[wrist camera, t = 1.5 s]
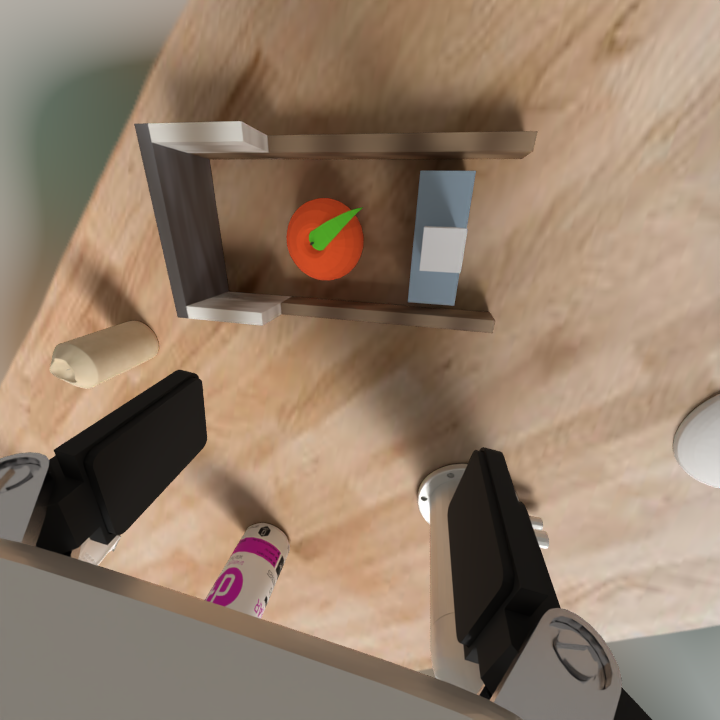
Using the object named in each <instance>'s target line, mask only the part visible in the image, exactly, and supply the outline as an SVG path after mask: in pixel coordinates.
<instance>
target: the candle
mask: <svg viewBox="0 0 720 720" xmlns="http://www.w3.org/2000/svg"><path fill="white" fill-rule="evenodd" d="M158 351H159V343H158V339H157V337H156V335H155V334H154V332H153V331H152V330H151V329H150V328H149V327H148V326H147V325H145V324H144V323H142V322H139V321H128V322H125V323H122V324H119V325H116V326H112V327H109V328H106V329H103V330H100V331H97V332H94V333H91V334H88V335H85V336H82V337H79V338H76V339H73V340H70V341H67V342H64V343H61V344H58V345H57V346H56V347H55V349H54V352H53V356H52V362H51V366H50V372H51V373H52V374H53V375H54V376H56V377H57V378H59V379H62V380H64V381H66V382H68V383H70V384H72V385H74V386H77V387H81V388H87V389H89V388H93V387H95V386H97V385H99V384H101V383H103V382H105V381H107V380H109V379H111V378H113V377H115V376H117V375H119V374H121V373H123V372H126V371H128V370H130V369H132V368H134V367H136V366H138V365H140V364H142V363H144V362H146V361H148V360H150V359H152V358H153V357H155V356H156V355H157V353H158Z"/></svg>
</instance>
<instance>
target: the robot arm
mask: <svg viewBox="0 0 720 720" xmlns="http://www.w3.org/2000/svg"><path fill="white" fill-rule="evenodd" d="M206 441H207V431H206V420H205V408H204V397H203V386H202V381H201V380H200V379H199V377H198V375H197V374H195V373H191V372H187V371H183V370H177V371H175V372H173V373H172V374H170V375H169V376H167V377H166V378H164V379H163V380H161V381H160V382H158V383H156V384H155V385H153V386H152V387H150V388H149V389H147V390H146V391H144V392H143V393H141V394H139V395H138V396H136V397H135V398H133V399H132V400H130V401H129V402H127V403H126V404H124V405H122V406H121V407H119V408H118V409H116V410H115V411H113V412H112V413H110V414H109V415H107V416H105V417H104V418H102V419H101V420H99V421H98V422H96V423H95V424H93V425H92V426H90V427H88V428H87V429H85V430H84V431H82V432H81V433H79V434H78V435H76V436H75V437H73V438H71V439H70V440H68V441H67V442H65V443H64V444H62V445H61V446H59V447H58V448H56V449H54V452H55V454H56V456H54V457H53V458H51V459H50V460H48V458H47V457H46V456H45V455H42V454H40V453H31V452H29V453H19V454H15V455H11V456H7V457H3V458H1V459H0V720H652V719H651V718H650V717H649V716H648V715H647V714H646V713H645V712H644V711H643V709H642V708H641V707H640V706H639V705H638V704H637V703H636V702H635V701H634V700H633V699H632V698H631V697H630V696H629V695H628V694H627V693H626V692H625V690H624V689H623V688H622V687H621V686H622V678H621V674H620V670H619V667H618V664H617V662H616V660H615V658H614V656H613V654H612V652H611V650H610V648H609V647H608V645H607V644H606V643H605V641H604V640H603V638H602V637H601V636H600V635H599V634H598V632H597V631H596V630H595V629H594V628H593V627H592V626H591V625H590V624H589V623H587V622H586V621H585V620H584V619H582V618H581V617H580V616H578V615H576V614H574V613H572V612H570V611H568V610H565V609H561V608H560V605H559V602H558V599H557V596H556V593H555V590H554V588H553V585H552V582H551V579H550V576H549V573H548V570H547V567H546V564H545V561H544V558H543V555H542V553H541V550H540V548H544V549H547V548H548V546H549V538H548V535H547V533H546V532H545V531H541V530H542V529H543V522H542V519H541V518H539V517H534V516H529V515H528V512H527V509H526V507H525V505H524V504H523V503H522V502H519V500H518V497H517V494H516V491H515V489H514V486H513V483H512V480H511V477H510V474H509V471H508V468H507V465H506V462H505V458H504V455H503V453H502V452H500V451H496V450H492V449H488V448H484V447H483V448H481V449H480V451H477V450H475V451H474V452H473V454H472V456H471V458H470V460H469V463H468V464H454V465H449V466H445V467H442V468H439V469H437V470H435V471H433V472H432V473H431V474H429V475H428V476H427V477H426V478H425V479H424V480H423V481H422V483H421V485H420V487H419V491H418V506H419V510H420V512H421V514H422V516H423V517H424V519H425V520H426V521H427V522H428V523H429V524H430V649H431V660H432V666H433V670H434V673H435V677H436V678H433V677H431V676H428V675H425V674H422V673H420V672H417V671H414V670H411V669H408V668H406V667H403V666H400V665H397V664H394V663H392V662H389V661H386V660H383V659H380V658H377V657H374V656H371V655H368V654H365V653H362V652H359V651H356V650H353V649H350V648H347V647H344V646H341V645H338V644H335V643H332V642H329V641H326V640H323V639H320V638H318V637H315V636H312V635H309V634H306V633H303V632H300V631H297V630H294V629H291V628H288V627H285V626H282V625H279V624H276V623H272V622H269V621H266V620H263V619H260V618H257V617H254V616H251V615H248V614H245V613H242V612H239V611H236V610H233V609H230V608H227V607H224V606H221V605H218V604H215V603H212V602H209V601H206V600H202V599H199V598H196V597H193V596H190V595H187V594H184V593H181V592H178V591H175V590H172V589H169V588H166V587H163V586H160V585H156V584H153V583H150V582H147V581H144V580H141V579H138V578H135V577H132V576H128V575H125V574H122V573H119V572H116V571H113V570H110V569H107V568H104V567H100V566H97V565H94V564H91V563H88V562H85V561H82V560H78V559H79V554H80V549H81V545H82V544H83V543H84V542H85V541H86V540H87V539H88V538H90V540H92V541H96V542H99V543H102V544H105V545H108V544H109V543H110V542H111V541H112V540H113V539H114V538H115V537H116V536H117V535H121V534H123V533H124V532H125V531H126V530H127V529H128V528H129V527H130V526H131V525H132V524H133V523H134V522H135V521H136V520H137V519H138V518H139V517H140V515H141V514H142V513H143V512H144V511H145V510H146V509H147V508H148V507H149V506H150V505H151V504H152V503H153V501H154V500H155V499H156V498H157V497H158V496H159V495H160V494H161V493H162V492H163V491H164V490H165V489H166V487H167V486H168V485H169V484H170V483H171V482H172V481H173V480H174V479H175V478H176V477H177V476H178V475H179V474H180V472H181V471H182V470H183V469H184V468H185V467H186V466H187V465H188V464H189V463H190V462H191V461H192V460H193V458H194V457H195V456H196V455H197V454H198V453H199V452H200V451H201V450H202V449H203V447H204V446H205V444H206ZM536 529H537V530H536Z"/></svg>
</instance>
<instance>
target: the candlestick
mask: <svg viewBox="0 0 720 720" xmlns="http://www.w3.org/2000/svg"><path fill="white" fill-rule="evenodd" d="M673 452H674V456H675V459H676V461H677V462H678V464H679V465H680V466H681V468H682V469H683V470H684V471H685V472H686V473H688V474H689V475H690V476H691V477H693V478H694V479H696V480H698V481H699V482H701V483H704V484H706V485H709V486H712V487H716V488H720V394H718V395H716V396H714V397H712V398H710V399H709V400H707V401H705V402H704V403H702V404H701V405H699V406H698V407H697V408H696V409H694V410H693V411H692V412H691V413H690V414H689V415H688V416H687V417H686V418H685V419H684V420H683V422H682V423H681V425H680V426H679V428H678V430H677V432H676V434H675V437H674V442H673Z"/></svg>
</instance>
